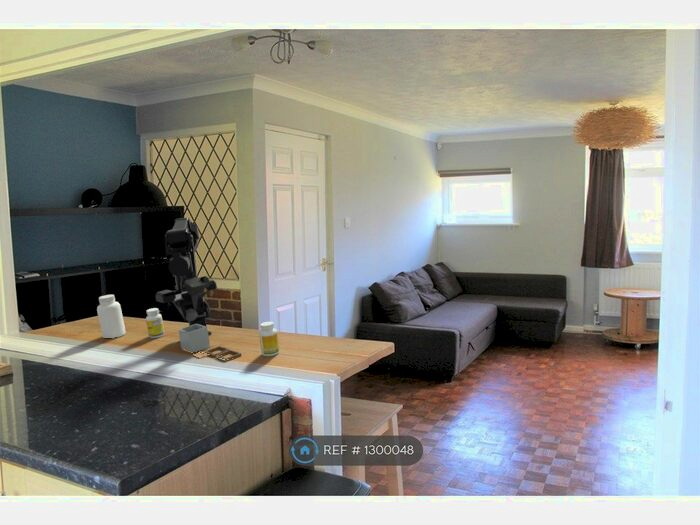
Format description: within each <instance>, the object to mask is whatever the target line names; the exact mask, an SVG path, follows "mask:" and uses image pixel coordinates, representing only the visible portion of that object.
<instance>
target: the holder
mask: <svg viewBox="0 0 700 525" xmlns="http://www.w3.org/2000/svg"><path fill="white" fill-rule="evenodd" d="M219 350H221V351H219ZM211 351H213V352H215V351H219V352H217V353H212V352H211ZM204 353H207V354H210V355H213V356H216V357H218V358H222V359H225V360H227V359H231V360H233V359H232V358H234V359H236V358H238V357H239V358H240V357H241V356H242V352H240V351H237V350H233V349H230V348H227V347H225V346H222V345H218V346H216V347H215V346H214V347H213V348H210V349H206V350H205V351H204ZM225 354H226V355H229V354H234V355H231V356H229V357H223V356H221V355H224V356H226V355H225ZM210 355H209V356H210ZM216 357H215V358H216ZM218 358H217V359H218Z"/></svg>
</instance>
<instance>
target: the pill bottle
mask: <svg viewBox="0 0 700 525" xmlns="http://www.w3.org/2000/svg"><path fill="white" fill-rule="evenodd" d="M98 302H99V305H98V306H97V307H96V311H97V317H98V321H99V326H100V330H101V335H102V338H103V339H104V338H112V339H116V338H115V337H117V338H119V337H123V336H125V334H126V327H125V322H124V316H123V313H122V312H123V311H122V308H121V307H122V306H121V304H120V303H119V301H116V297H115V294H106V295H101V296H99V297H98Z"/></svg>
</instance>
